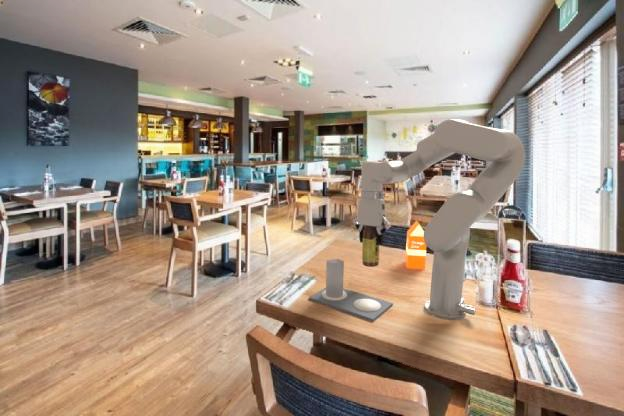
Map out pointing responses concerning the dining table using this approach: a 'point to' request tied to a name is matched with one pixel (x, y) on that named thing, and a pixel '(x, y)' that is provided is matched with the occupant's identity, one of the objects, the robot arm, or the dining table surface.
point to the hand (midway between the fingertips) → (370, 242)
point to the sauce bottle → (370, 247)
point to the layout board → (348, 295)
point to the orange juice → (415, 247)
